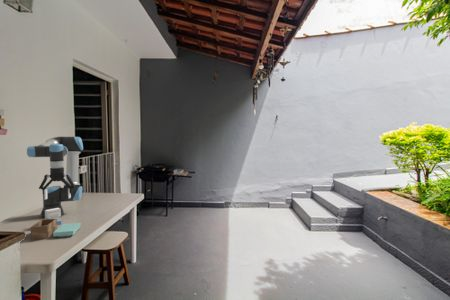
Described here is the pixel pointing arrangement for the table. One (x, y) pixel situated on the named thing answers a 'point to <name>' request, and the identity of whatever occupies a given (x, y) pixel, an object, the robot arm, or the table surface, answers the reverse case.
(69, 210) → the table surface
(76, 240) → the table surface
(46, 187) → the robot arm
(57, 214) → the ink box
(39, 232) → the crate
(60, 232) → the lid
